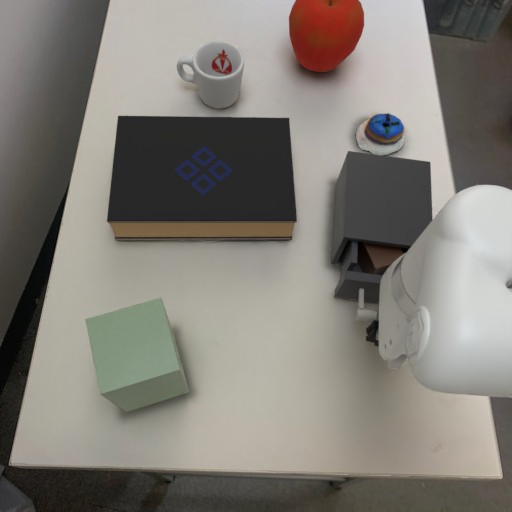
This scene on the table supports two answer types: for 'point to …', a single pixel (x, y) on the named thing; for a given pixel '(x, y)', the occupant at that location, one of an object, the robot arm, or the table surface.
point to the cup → (215, 72)
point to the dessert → (381, 134)
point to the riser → (136, 356)
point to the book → (202, 179)
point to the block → (376, 257)
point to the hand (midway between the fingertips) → (377, 336)
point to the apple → (325, 31)
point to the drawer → (358, 282)
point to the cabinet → (380, 201)
